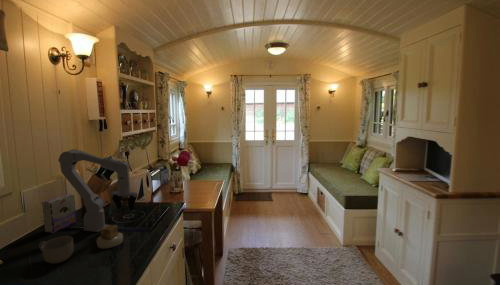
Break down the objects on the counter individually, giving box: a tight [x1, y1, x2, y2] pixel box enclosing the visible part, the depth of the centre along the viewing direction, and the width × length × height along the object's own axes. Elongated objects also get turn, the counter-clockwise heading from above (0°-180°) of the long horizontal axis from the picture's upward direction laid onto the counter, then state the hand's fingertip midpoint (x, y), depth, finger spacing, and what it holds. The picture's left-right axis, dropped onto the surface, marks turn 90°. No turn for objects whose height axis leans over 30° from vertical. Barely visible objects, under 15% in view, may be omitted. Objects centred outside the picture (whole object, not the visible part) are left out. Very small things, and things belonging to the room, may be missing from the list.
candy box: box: [41, 193, 78, 234], centre depth 142 cm, size 14×6×16 cm, turn 164°
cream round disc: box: [96, 231, 124, 249], centre depth 126 cm, size 11×11×3 cm
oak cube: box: [100, 224, 119, 240], centre depth 126 cm, size 5×5×5 cm
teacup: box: [38, 235, 75, 265], centre depth 112 cm, size 14×11×8 cm
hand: (125, 209), depth 143 cm, fingers open, 7 cm apart
